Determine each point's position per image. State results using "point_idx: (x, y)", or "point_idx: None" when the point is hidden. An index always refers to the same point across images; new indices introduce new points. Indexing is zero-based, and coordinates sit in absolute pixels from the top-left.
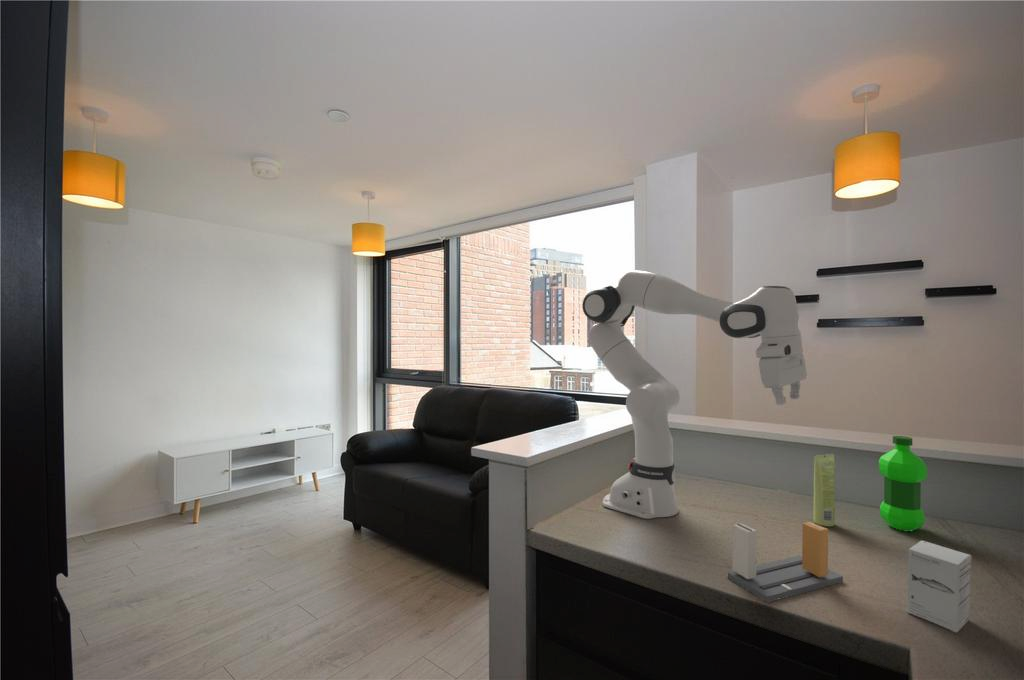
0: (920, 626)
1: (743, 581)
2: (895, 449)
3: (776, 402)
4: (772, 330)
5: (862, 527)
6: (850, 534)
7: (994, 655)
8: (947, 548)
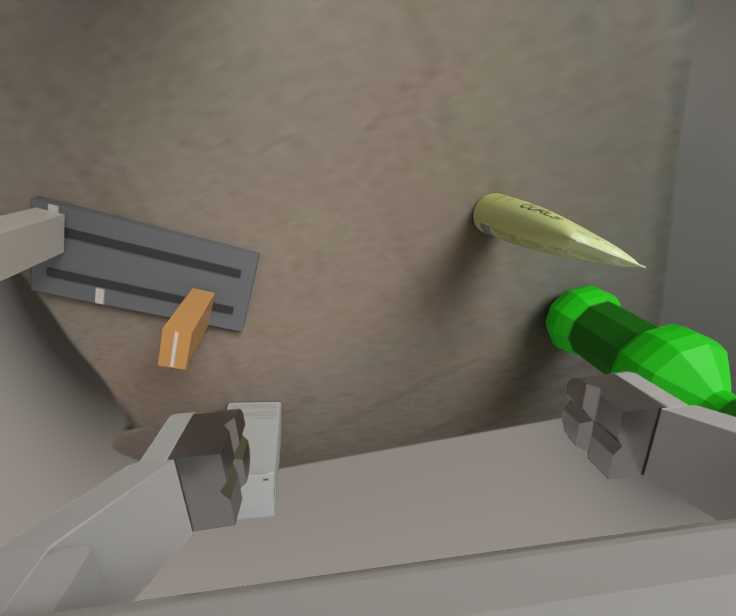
0: None
1: None
2: (711, 393)
3: (166, 425)
4: None
5: (520, 268)
6: (466, 266)
7: None
8: (270, 498)
